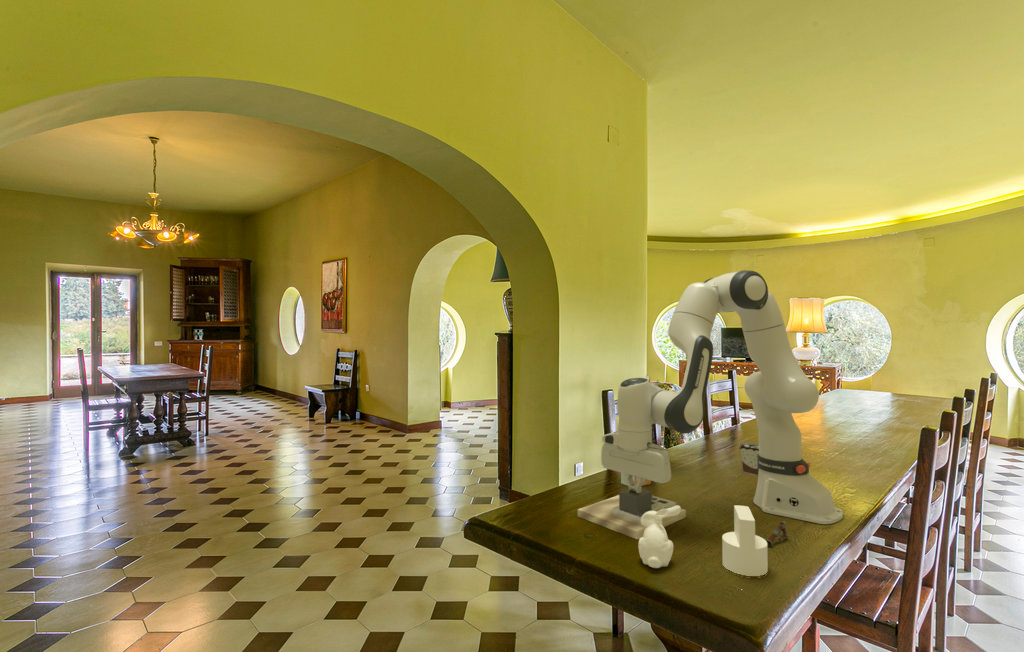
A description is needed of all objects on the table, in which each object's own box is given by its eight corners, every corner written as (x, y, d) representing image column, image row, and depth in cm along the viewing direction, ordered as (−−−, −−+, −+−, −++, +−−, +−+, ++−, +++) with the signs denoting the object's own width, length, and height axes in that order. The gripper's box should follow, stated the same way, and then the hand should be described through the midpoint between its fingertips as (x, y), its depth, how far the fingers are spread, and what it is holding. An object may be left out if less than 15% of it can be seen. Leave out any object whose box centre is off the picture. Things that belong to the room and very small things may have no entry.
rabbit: (639, 547, 120) (639, 497, 120) (680, 552, 118) (680, 501, 118) (637, 571, 109) (636, 515, 109) (682, 577, 106) (682, 520, 106)
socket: (676, 511, 137) (676, 502, 137) (641, 527, 127) (640, 517, 127) (648, 503, 144) (648, 494, 144) (612, 516, 134) (612, 507, 134)
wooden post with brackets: (792, 535, 124) (788, 519, 123) (775, 556, 120) (770, 541, 119) (784, 532, 126) (780, 517, 125) (767, 553, 122) (763, 538, 121)
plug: (657, 514, 135) (656, 489, 135) (636, 522, 129) (636, 497, 129) (639, 508, 139) (639, 484, 139) (619, 516, 133) (619, 491, 133)
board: (685, 517, 139) (685, 510, 139) (637, 539, 125) (637, 531, 125) (626, 498, 154) (626, 492, 154) (577, 516, 140) (577, 509, 140)
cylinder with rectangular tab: (720, 555, 116) (719, 503, 116) (763, 560, 113) (762, 507, 113) (724, 574, 107) (724, 518, 107) (771, 580, 104) (771, 522, 104)
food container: (781, 476, 175) (781, 447, 175) (772, 479, 171) (772, 450, 171) (748, 468, 185) (747, 441, 185) (738, 471, 182) (738, 443, 182)
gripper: (676, 444, 127) (676, 499, 127) (612, 432, 143) (612, 480, 143) (661, 448, 123) (662, 505, 123) (597, 435, 139) (598, 485, 139)
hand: (635, 491), depth 133 cm, fingers closed, pressing on plug
